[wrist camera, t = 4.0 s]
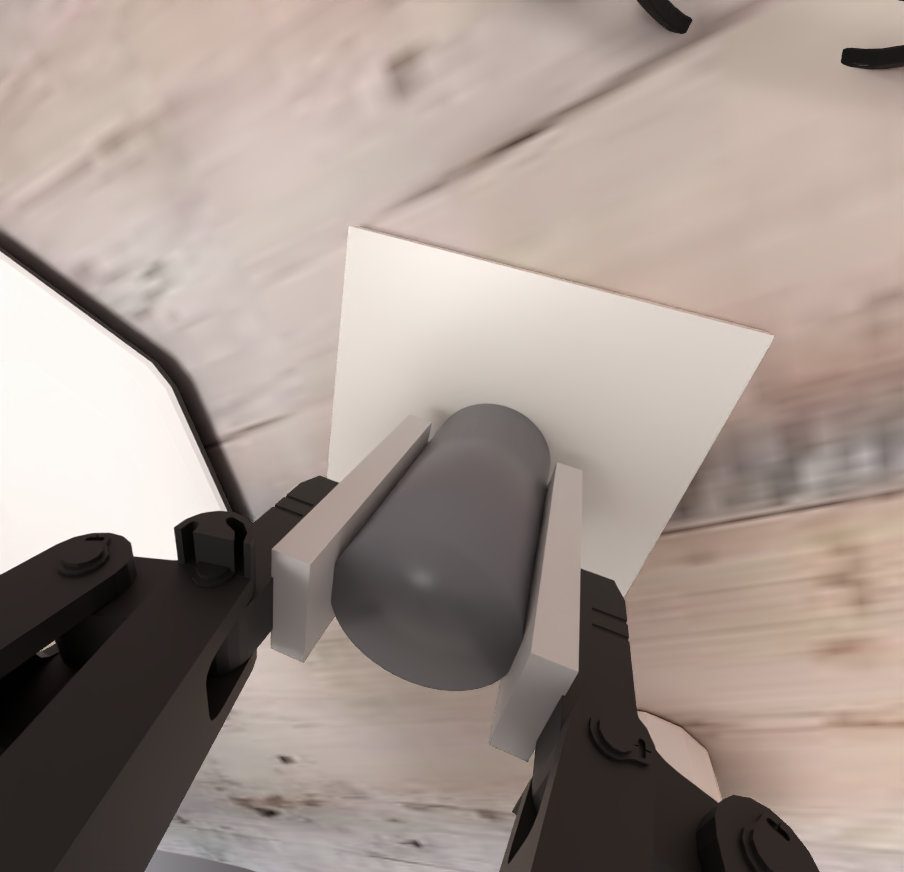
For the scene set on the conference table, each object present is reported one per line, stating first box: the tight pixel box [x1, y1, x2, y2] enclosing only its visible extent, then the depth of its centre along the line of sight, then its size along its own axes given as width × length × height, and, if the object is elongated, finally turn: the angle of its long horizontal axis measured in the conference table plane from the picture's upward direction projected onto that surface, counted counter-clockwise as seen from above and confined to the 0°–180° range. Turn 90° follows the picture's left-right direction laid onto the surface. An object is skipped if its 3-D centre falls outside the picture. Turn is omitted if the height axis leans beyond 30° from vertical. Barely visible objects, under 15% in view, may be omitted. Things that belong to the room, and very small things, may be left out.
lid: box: [327, 226, 775, 691], centre depth 12 cm, size 12×12×8 cm
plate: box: [0, 247, 232, 575], centre depth 23 cm, size 24×24×2 cm
